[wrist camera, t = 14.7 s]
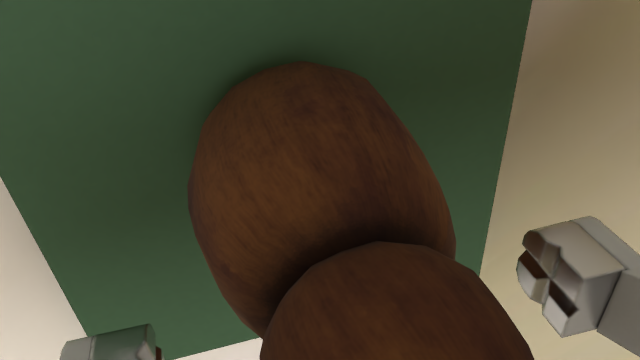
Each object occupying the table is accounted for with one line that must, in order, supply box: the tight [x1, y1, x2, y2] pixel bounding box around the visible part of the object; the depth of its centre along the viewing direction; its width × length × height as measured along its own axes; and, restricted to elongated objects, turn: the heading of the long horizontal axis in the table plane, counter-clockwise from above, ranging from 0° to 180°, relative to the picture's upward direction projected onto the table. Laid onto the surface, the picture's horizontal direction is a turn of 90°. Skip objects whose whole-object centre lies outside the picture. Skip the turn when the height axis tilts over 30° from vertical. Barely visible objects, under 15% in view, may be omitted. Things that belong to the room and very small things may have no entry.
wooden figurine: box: [187, 61, 534, 360], centre depth 10 cm, size 7×6×15 cm
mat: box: [0, 0, 532, 360], centre depth 16 cm, size 17×20×1 cm
